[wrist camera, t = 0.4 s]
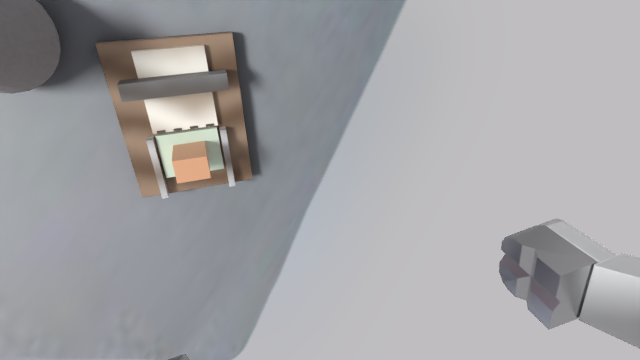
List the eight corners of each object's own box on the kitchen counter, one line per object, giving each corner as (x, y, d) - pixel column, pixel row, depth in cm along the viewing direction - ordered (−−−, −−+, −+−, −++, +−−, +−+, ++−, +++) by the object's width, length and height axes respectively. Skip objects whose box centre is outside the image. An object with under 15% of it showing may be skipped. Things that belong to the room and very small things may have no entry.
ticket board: (97, 42, 44) (90, 48, 40) (231, 31, 47) (234, 36, 44) (143, 192, 53) (140, 207, 50) (251, 174, 57) (255, 187, 54)
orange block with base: (155, 134, 49) (152, 152, 44) (216, 126, 51) (219, 142, 46) (166, 176, 52) (164, 196, 47) (223, 166, 53) (227, 185, 49)
